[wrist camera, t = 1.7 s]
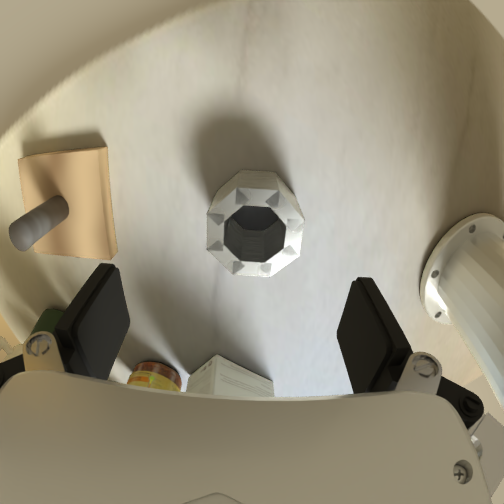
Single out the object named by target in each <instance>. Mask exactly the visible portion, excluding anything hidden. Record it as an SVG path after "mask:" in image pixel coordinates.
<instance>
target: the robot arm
mask: <svg viewBox="0 0 504 504" xmlns="http://www.w3.org/2000/svg"><path fill="white" fill-rule="evenodd" d="M420 297H421V302H422V305H423V307H424V309H425V311H426V312H427V314H428V315H429V317H430V318H431V319H432V320H434V321H436V322H438V323H440V324H446V325H448V324H453V326H454V327H455V329H456V330H457V332H458V333H459V335H460V336H461V338H462V339H463V341H464V342H465V344H466V346H467V347H468V349H469V351H470V352H471V354H472V355H473V357H474V359H475V360H476V362H477V364H478V365H479V367H480V369H481V371H482V372H483V374H484V376H485V378H486V379H487V381H488V383H489V385H490V387H491V389H492V390H493V392H494V394H495V396H496V398H497V400H498V402H499V404H500V406H501V408H502V410H503V412H504V222H503V221H502V220H501V219H499V218H497V217H496V216H494V215H492V214H488V213H477V214H474V215H471V216H468V217H467V218H465V219H463V220H461V221H460V222H458V223H457V224H456V225H455V226H453V227H452V228H451V229H450V230H449V231H448V232H447V233H446V234H445V235H444V236H443V237H442V239H441V240H440V241H439V243H438V244H437V246H436V247H435V248H434V250H433V252H432V254H431V255H430V257H429V259H428V261H427V264H426V266H425V269H424V271H423V275H422V279H421V285H420ZM129 325H130V318H129V314H128V310H127V305H126V301H125V296H124V291H123V287H122V282H121V277H120V271H119V269H118V268H116V267H115V265H114V264H107V263H100V264H99V266H98V267H97V268H96V269H95V271H94V272H93V273H92V275H91V276H90V277H89V279H88V280H87V281H86V283H85V284H84V285H83V287H82V288H81V289H80V291H79V292H78V294H77V295H76V296H75V298H74V299H73V301H72V302H71V303H70V305H69V306H68V308H67V309H66V311H65V312H64V314H63V315H62V317H61V318H60V319H59V321H58V322H57V324H56V326H55V327H54V329H55V330H54V331H53V333H52V334H51V333H49V332H46V331H40V332H36V333H34V334H32V335H31V336H29V337H28V338H27V339H26V341H25V342H24V344H23V349H22V351H23V354H21V355H18V356H16V357H13V358H11V359H9V360H6V361H4V362H2V363H0V504H492V501H491V497H492V495H493V493H494V492H495V490H496V489H497V487H498V486H499V484H500V482H501V481H502V479H503V477H504V426H503V425H501V424H500V423H499V422H498V421H497V420H496V419H495V418H494V417H493V416H491V414H489V413H487V414H486V415H485V414H484V407H483V403H482V401H481V399H480V398H479V397H478V396H477V395H476V394H474V393H473V392H471V391H469V390H467V389H465V388H463V387H461V386H459V385H458V384H456V383H454V382H452V381H450V380H448V379H446V378H444V377H442V376H441V375H442V367H441V364H440V363H439V361H438V360H437V359H436V358H435V357H434V356H432V355H431V354H429V353H426V352H415V353H413V351H412V349H411V346H410V344H409V342H408V340H407V339H406V337H405V335H404V333H403V331H402V329H401V327H400V326H399V324H398V322H397V320H396V318H395V317H394V315H393V313H392V311H391V309H390V308H389V306H388V304H387V302H386V301H385V299H384V297H383V296H382V294H381V292H380V290H379V289H378V287H377V285H376V284H375V282H374V280H373V279H372V278H369V277H358V278H357V279H356V281H353V282H352V284H351V288H350V291H349V294H348V298H347V301H346V304H345V308H344V311H343V314H342V317H341V320H340V323H339V326H338V329H337V339H338V342H339V346H340V349H341V352H342V355H343V359H344V362H345V365H346V368H347V372H348V375H349V379H350V382H351V385H352V389H353V392H354V394H346V395H330V396H311V397H244V396H223V395H209V394H197V393H187V392H178V391H169V390H161V389H154V388H147V387H141V386H135V385H129V384H123V383H118V382H112V381H107V379H108V376H109V374H110V371H111V369H112V366H113V364H114V361H115V359H116V357H117V354H118V352H119V349H120V347H121V345H122V342H123V340H124V338H125V335H126V333H127V331H128V328H129Z"/></svg>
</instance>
